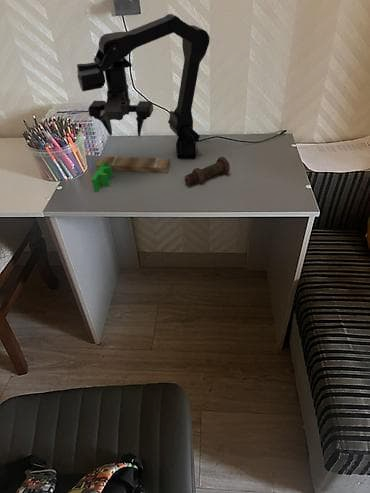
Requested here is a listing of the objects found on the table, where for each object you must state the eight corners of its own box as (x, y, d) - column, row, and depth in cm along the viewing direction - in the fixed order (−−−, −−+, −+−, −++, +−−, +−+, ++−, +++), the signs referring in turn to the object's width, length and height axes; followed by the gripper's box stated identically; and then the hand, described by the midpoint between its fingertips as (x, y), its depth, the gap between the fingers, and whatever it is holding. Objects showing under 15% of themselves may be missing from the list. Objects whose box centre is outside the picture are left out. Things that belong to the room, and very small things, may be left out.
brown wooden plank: (170, 164, 128) (169, 158, 126) (167, 173, 123) (166, 167, 122) (102, 161, 131) (101, 155, 129) (97, 170, 126) (95, 164, 125)
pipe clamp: (106, 192, 117) (103, 180, 114) (94, 192, 117) (91, 179, 114) (116, 173, 125) (113, 161, 122) (105, 173, 125) (102, 160, 122)
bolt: (185, 189, 119) (223, 173, 125) (192, 189, 115) (231, 173, 120) (179, 172, 118) (218, 156, 123) (186, 171, 113) (226, 155, 119)
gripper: (76, 94, 103) (88, 146, 114) (142, 95, 101) (148, 148, 111) (89, 80, 111) (99, 130, 122) (151, 81, 109) (156, 131, 120)
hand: (125, 135), depth 118 cm, fingers open, 9 cm apart
